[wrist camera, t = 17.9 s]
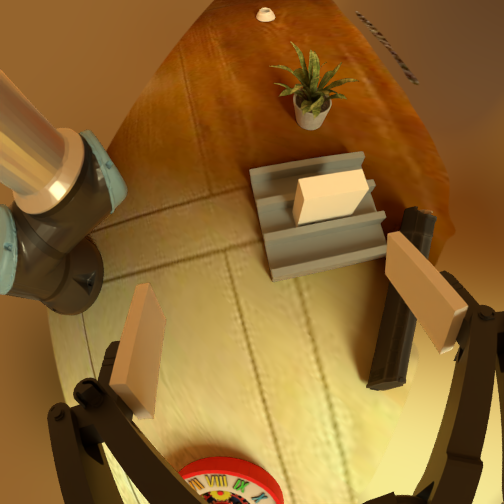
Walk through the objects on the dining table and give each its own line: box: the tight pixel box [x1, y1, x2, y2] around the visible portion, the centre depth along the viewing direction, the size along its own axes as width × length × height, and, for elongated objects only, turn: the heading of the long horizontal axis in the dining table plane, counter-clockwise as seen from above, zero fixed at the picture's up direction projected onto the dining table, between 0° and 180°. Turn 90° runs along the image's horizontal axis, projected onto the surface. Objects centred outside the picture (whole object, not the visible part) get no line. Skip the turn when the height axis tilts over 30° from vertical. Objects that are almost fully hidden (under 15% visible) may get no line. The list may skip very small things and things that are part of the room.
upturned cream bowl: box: [256, 8, 275, 22], centre depth 65 cm, size 5×3×5 cm
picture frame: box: [292, 169, 369, 227], centre depth 45 cm, size 3×9×12 cm, turn 101°
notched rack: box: [249, 151, 387, 282], centre depth 50 cm, size 18×20×4 cm
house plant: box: [270, 42, 358, 130], centre depth 50 cm, size 14×14×16 cm
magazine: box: [366, 206, 437, 391], centre depth 43 cm, size 17×3×30 cm
